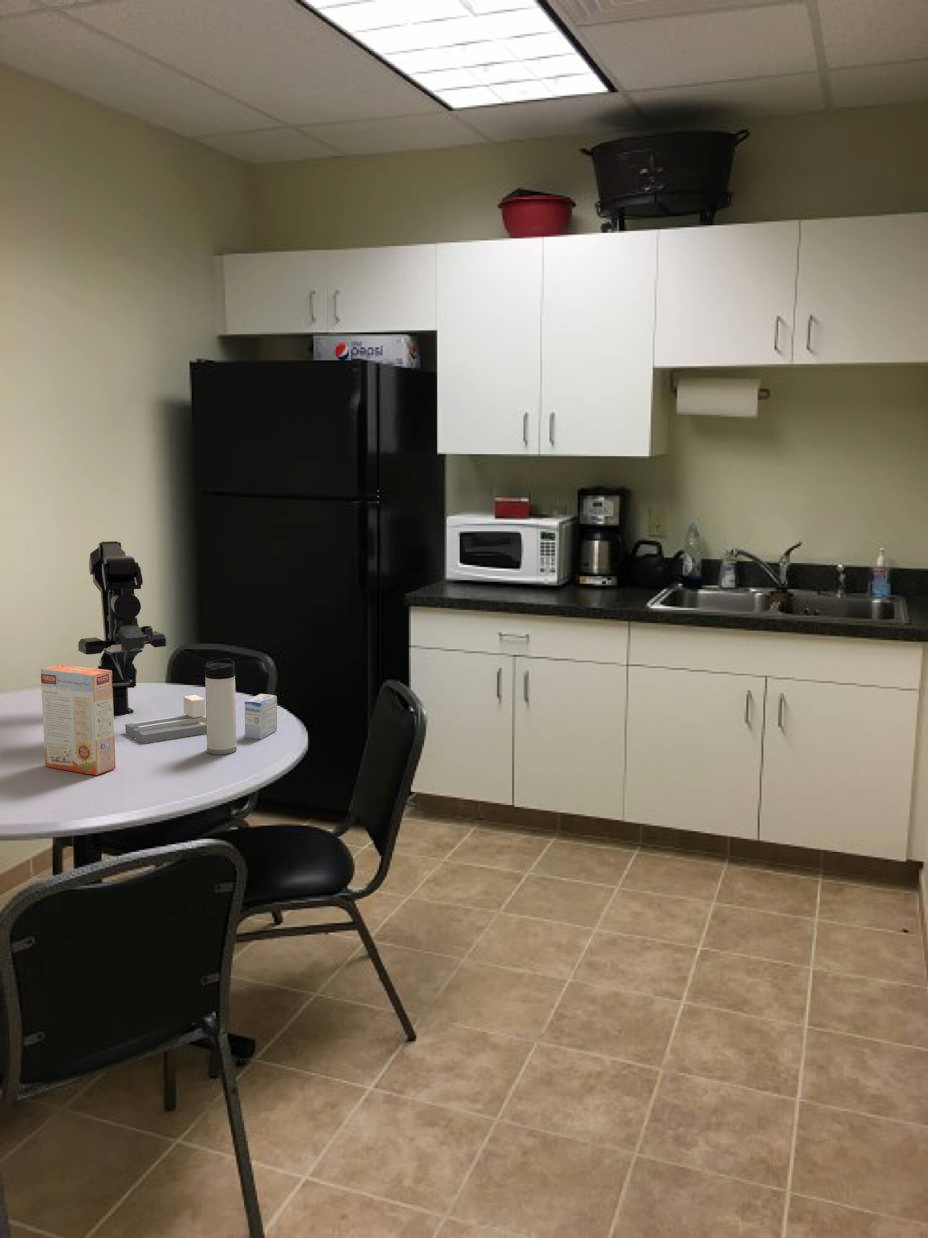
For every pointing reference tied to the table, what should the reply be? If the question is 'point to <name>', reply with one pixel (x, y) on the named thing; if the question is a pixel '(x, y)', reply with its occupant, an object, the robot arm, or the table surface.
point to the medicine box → (260, 716)
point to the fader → (194, 706)
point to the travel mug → (220, 706)
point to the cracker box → (78, 719)
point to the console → (166, 728)
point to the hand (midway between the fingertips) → (124, 679)
